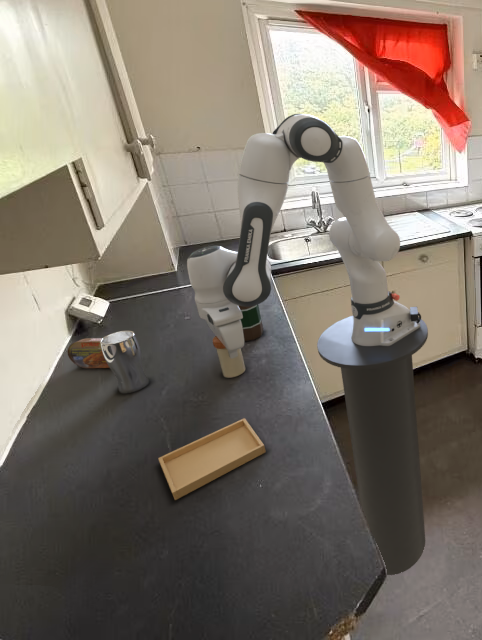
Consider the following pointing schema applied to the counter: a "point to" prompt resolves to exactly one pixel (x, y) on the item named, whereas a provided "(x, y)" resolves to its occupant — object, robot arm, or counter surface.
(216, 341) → the lid
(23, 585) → the counter surface
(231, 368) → the jar
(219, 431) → the tray
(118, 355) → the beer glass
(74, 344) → the tin
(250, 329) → the beer bottle
